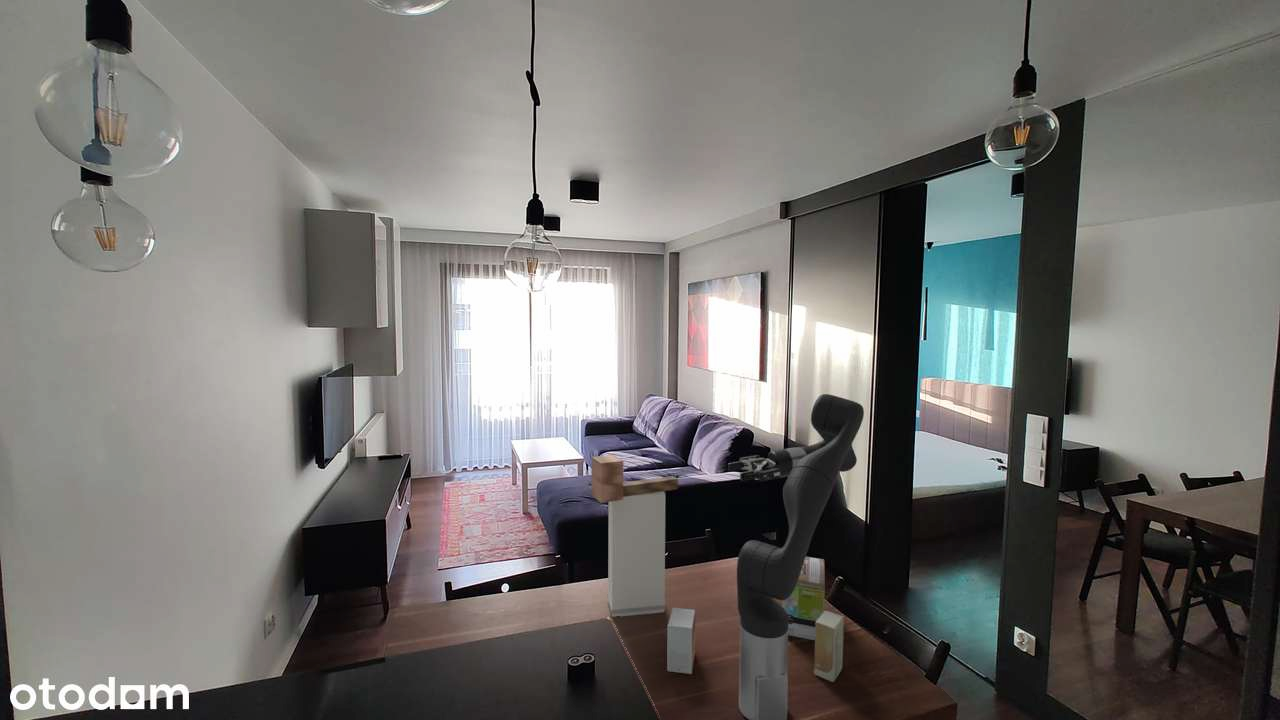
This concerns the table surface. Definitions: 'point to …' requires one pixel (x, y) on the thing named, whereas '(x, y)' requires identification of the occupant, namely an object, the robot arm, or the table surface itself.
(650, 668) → the table surface
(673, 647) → the small box
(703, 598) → the table surface
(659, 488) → the mallet
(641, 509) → the pedestal
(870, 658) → the table surface
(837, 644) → the skincare box
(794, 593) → the green coffee box
